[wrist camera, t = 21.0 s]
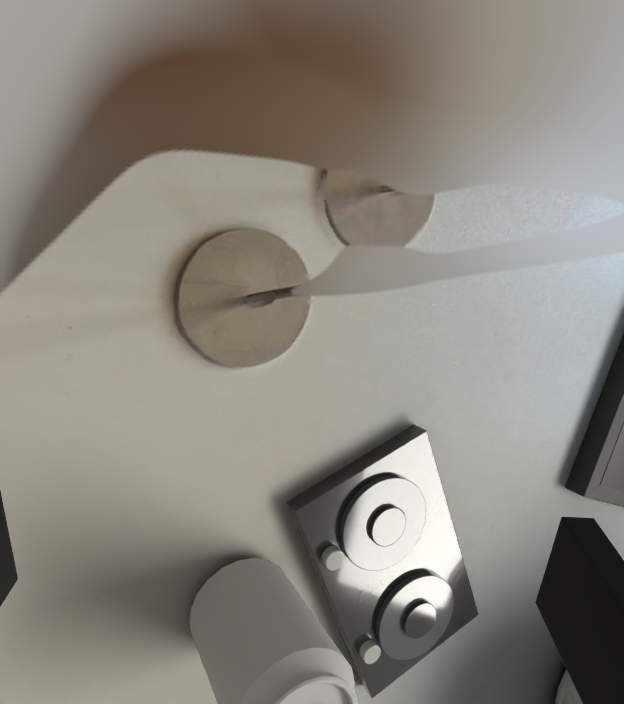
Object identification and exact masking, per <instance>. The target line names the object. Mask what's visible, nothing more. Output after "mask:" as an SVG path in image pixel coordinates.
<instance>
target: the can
mask: <svg viewBox="0 0 624 704" xmlns="http://www.w3.org/2000/svg"><path fill="white" fill-rule="evenodd" d="M189 626H190V629H191V632H192V636H193V639H194V641H195V644H196V647H197V649H198V652H199V655H200V657H201V660H202V663H203V665H204V668H205V671H206V673H207V676H208V679H209V681H210V684H211V687H212V689H213V692H214V695H215V697H216V700H217V702H218V704H358V703H357V698H356V693H355V691H354V685H355V682H354V677H353V671H352V667H351V666H350V664H349V663H348V662H347V660H346V659H345V657H344V656H343V655H342V653H341V652H340V650H339V649H338V648H337V646H336V645H335V643H334V642H333V641H332V639H331V638H330V637H329V635H328V634H327V632H326V631H325V630H324V628H323V627H322V625H321V624H320V623H319V621H318V620H317V618H316V617H315V616H314V614H313V613H312V611H311V610H310V609H309V607H308V606H307V604H306V603H305V602H304V600H303V599H302V597H301V596H300V595H299V593H298V592H297V590H296V589H295V588H294V586H293V585H292V584H291V582H290V581H289V579H288V578H287V577H286V575H285V574H284V572H283V571H282V570H281V568H280V567H279V566H277V565H275V564H274V563H272V562H270V561H269V560H264V559H258V558H251V559H245V560H238V561H236V562H234V563H232V564H230V565H227V566H225V567H223V568H222V569H220V570H219V571H218V572H217V573H215V574H214V575H213V576H212V577H210V578H209V579H208V580H207V581H206V583H205V584H204V585H203V587H202V588H201V589H200V591H199V592H198V593H197V595H196V598H195V600H194V603H193V605H192V608H191V611H190V624H189Z"/></svg>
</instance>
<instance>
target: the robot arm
mask: <svg viewBox="0 0 624 704" xmlns="http://www.w3.org/2000/svg"><path fill="white" fill-rule="evenodd" d="M17 579H18V578H17V573H16V568H15V562H14V557H13V552H12V547H11V542H10V537H9V532H8V527H7V522H6V517H5V512H4V507H3V502H2V497H1V492H0V606H1V605H2V603H3V601H4V600H5V598H6V597H7V595H8V594H9V592H10V590H11V589H12V587H13V586H14V584H15V583H16V581H17ZM536 605H537V607H538V609H539V611H540V613H541V615H542V617H543V619H544V622H545V624H546V626H547V628H548V630H549V632H550V634H551V637H552V639H553V641H554V643H555V645H556V647H557V649H558V652H559V654H560V656H561V658H562V660H563V662H564V664H565V667H566V669H567V671H568V673H569V675H570V677H571V679H572V682H573V684H574V686H575V688H576V690H577V692H578V694H579V697H580V699H581V701H582V703H583V704H624V560H623V559H622V557H621V556H620V555H619V553H618V552H617V550H616V549H615V548H614V546H613V545H612V543H611V542H610V541H609V539H608V538H607V536H606V535H605V534H604V532H603V531H602V529H601V528H600V527H599V525H598V524H597V522H596V521H595V520H594V518H576V517H562V518H561V521H560V524H559V528H558V531H557V534H556V537H555V541H554V544H553V547H552V551H551V554H550V557H549V560H548V564H547V567H546V570H545V573H544V577H543V580H542V583H541V586H540V590H539V593H538V596H537V600H536Z"/></svg>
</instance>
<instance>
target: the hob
mask: <svg viewBox="0 0 624 704" xmlns="http://www.w3.org/2000/svg"><path fill="white" fill-rule="evenodd" d="M287 504H288V506H289V508H290V511H291V513H292V516H293V518H294V520H295V523H296V525H297V528H298V530H299V533H300V535H301V537H302V540H303V542H304V545H305V547H306V549H307V552H308V554H309V557H310V559H311V562H312V564H313V566H314V569H315V571H316V574H317V576H318V578H319V581H320V583H321V586H322V588H323V591H324V593H325V595H326V598H327V600H328V603H329V605H330V607H331V610H332V612H333V615H334V617H335V620H336V622H337V624H338V627H339V629H340V632H341V634H342V636H343V639H344V641H345V644H346V646H347V649H348V651H349V653H350V656H351V658H352V661H353V663H354V665H355V668H356V670H357V673H358V675H359V678H360V680H361V682H362V685H363V687H364V688H365V689H366V691H367V692H368V694H369V695H370V696H371V698H373V697H374V696H376V695H377V694H378V693H379V692H381V691H382V690H383V689H385V688H386V687H387V686H388V685H390V684H391V683H392V682H393V681H395V680H396V679H397V678H398V677H400V676H401V675H402V674H404V673H405V672H406V671H407V670H409V669H410V668H411V667H412V666H414V665H415V664H416V663H417V662H419V661H420V660H421V659H423V658H424V657H425V656H426V655H428V654H429V653H430V652H431V651H433V650H434V649H435V648H436V647H438V646H439V645H440V644H442V643H443V642H444V641H445V640H447V639H448V638H449V637H450V636H452V635H453V634H454V633H455V632H457V631H458V630H459V629H461V628H462V627H463V626H464V625H466V624H467V623H468V622H469V621H471V620H472V619H473V618H474V617H476V616H477V615H478V611H477V607H476V604H475V600H474V597H473V593H472V590H471V586H470V583H469V579H468V576H467V572H466V569H465V565H464V561H463V558H462V554H461V551H460V547H459V544H458V540H457V537H456V533H455V530H454V526H453V523H452V519H451V516H450V512H449V508H448V505H447V501H446V498H445V494H444V491H443V487H442V484H441V480H440V477H439V473H438V470H437V466H436V462H435V459H434V455H433V452H432V448H431V445H430V441H429V438H428V434H427V431H426V430H424V429H422V428H420V427H418V426H416V425H414V426H413V427H411V428H409V429H408V430H406V431H404V432H403V433H401V434H399V435H398V436H396V437H394V438H393V439H391V440H389V441H388V442H386V443H384V444H383V445H381V446H379V447H378V448H376V449H374V450H373V451H371V452H369V453H368V454H366V455H364V456H363V457H361V458H359V459H358V460H356V461H354V462H353V463H351V464H350V465H348V466H346V467H345V468H343V469H341V470H340V471H338V472H336V473H335V474H333V475H331V476H330V477H328V478H326V479H325V480H323V481H321V482H320V483H318V484H316V485H315V486H313V487H311V488H310V489H308V490H306V491H305V492H303V493H301V494H300V495H298V496H296V497H295V498H293V499H291V500H290V501H288V502H287Z"/></svg>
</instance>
